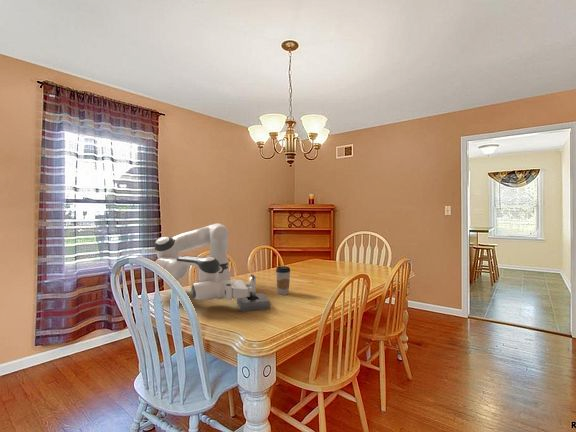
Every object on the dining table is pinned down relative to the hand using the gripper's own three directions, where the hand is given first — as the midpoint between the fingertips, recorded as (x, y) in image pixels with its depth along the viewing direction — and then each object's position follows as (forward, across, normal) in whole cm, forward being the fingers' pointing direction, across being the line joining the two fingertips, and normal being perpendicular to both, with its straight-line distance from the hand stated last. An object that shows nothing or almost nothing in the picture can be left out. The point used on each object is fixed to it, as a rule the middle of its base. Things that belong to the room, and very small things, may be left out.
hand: (254, 287), depth 155 cm
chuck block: (-1, 0, -9) cm, 9 cm away
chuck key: (-1, 0, -8) cm, 8 cm away
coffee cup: (+20, -18, -10) cm, 29 cm away
